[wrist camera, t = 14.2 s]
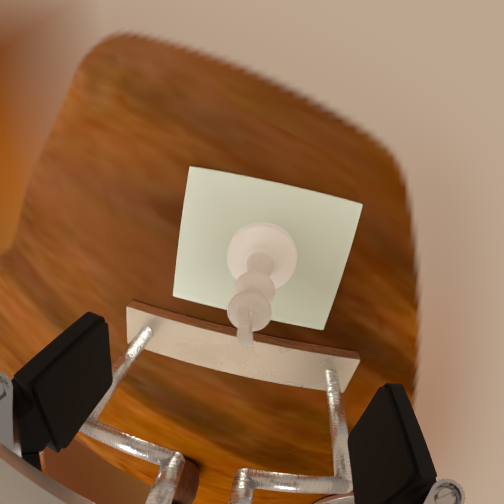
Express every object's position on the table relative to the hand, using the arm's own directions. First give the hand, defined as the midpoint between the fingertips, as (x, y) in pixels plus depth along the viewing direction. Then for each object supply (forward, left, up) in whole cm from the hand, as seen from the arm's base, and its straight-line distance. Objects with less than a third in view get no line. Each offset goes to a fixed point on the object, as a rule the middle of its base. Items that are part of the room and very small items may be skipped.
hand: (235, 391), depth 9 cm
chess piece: (0, 0, -13) cm, 13 cm away
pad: (0, 0, -13) cm, 13 cm away
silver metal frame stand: (-9, 0, -13) cm, 16 cm away
